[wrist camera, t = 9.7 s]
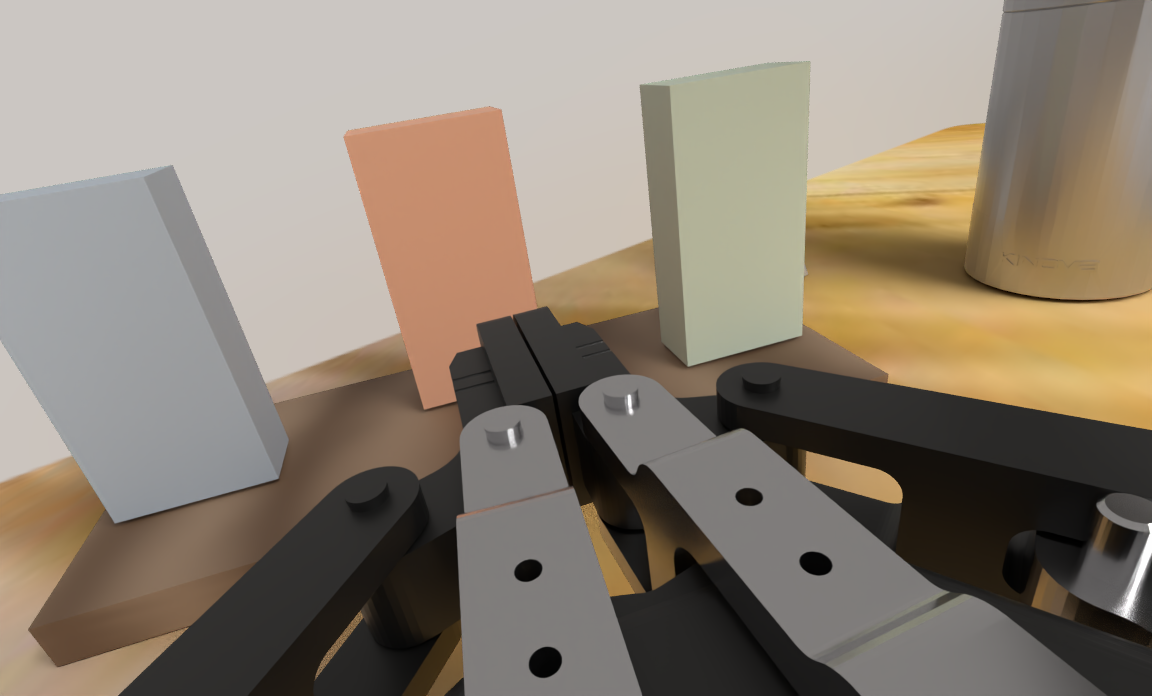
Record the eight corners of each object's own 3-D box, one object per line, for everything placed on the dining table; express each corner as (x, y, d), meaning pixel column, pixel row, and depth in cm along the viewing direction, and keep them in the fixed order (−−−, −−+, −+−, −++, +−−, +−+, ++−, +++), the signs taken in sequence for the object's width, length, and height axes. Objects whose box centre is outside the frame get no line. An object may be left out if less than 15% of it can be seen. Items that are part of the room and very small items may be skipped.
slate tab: (288, 439, 27) (172, 165, 22) (278, 478, 24) (143, 176, 19) (142, 478, 26) (-19, 197, 20) (115, 523, 23) (-78, 215, 18)
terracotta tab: (535, 351, 31) (489, 106, 26) (549, 376, 29) (501, 109, 24) (420, 380, 30) (347, 130, 25) (424, 409, 28) (343, 136, 22)
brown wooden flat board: (740, 314, 37) (739, 287, 36) (884, 410, 26) (888, 374, 25) (170, 463, 30) (154, 433, 30) (57, 667, 20) (27, 629, 19)
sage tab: (767, 313, 32) (767, 62, 26) (802, 335, 29) (810, 61, 24) (661, 341, 30) (639, 84, 25) (687, 366, 28) (669, 85, 23)
